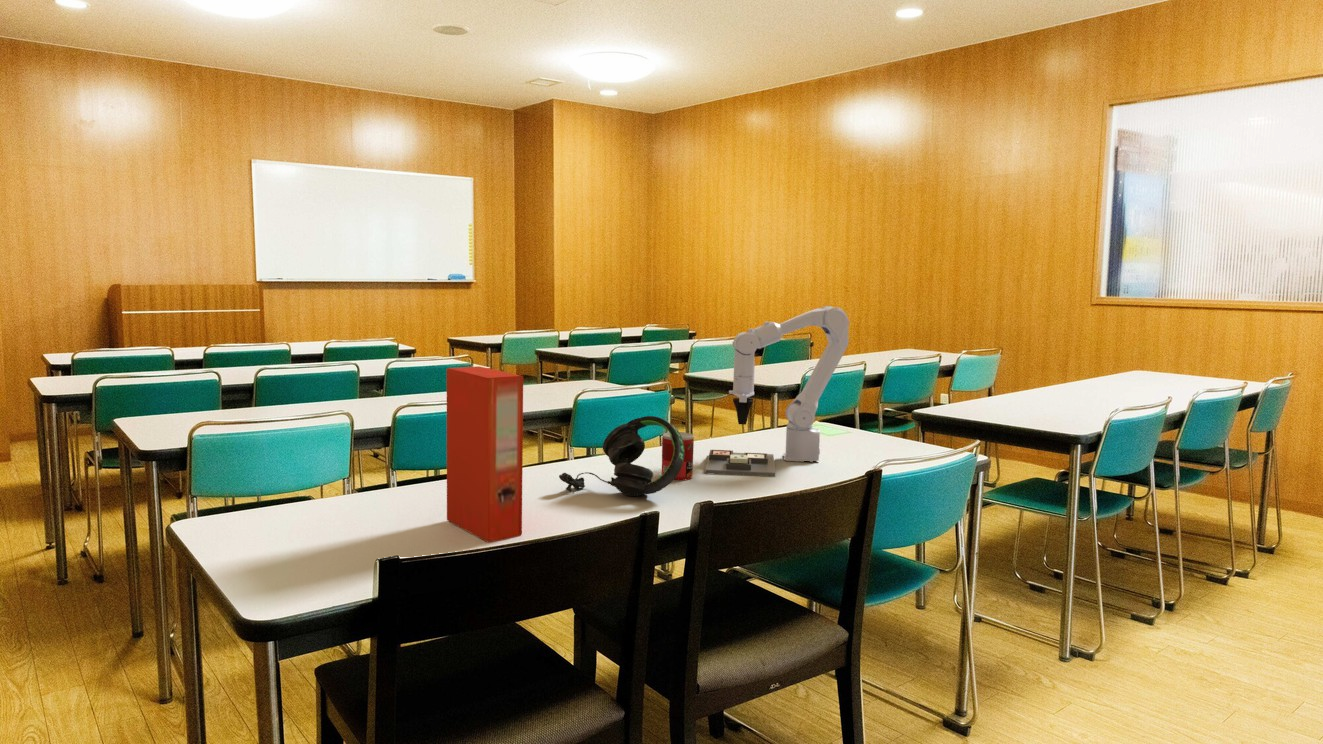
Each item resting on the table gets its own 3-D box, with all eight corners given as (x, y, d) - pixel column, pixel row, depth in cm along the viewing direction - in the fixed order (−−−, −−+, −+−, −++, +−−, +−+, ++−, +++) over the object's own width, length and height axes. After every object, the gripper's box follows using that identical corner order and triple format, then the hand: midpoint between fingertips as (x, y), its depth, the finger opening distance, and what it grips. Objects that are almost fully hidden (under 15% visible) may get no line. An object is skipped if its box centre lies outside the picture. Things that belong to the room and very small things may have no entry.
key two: (747, 459, 228) (747, 454, 228) (747, 463, 224) (747, 458, 223) (730, 458, 229) (730, 454, 228) (729, 462, 224) (730, 457, 224)
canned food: (692, 481, 214) (694, 438, 213) (661, 480, 214) (662, 437, 213) (692, 473, 222) (693, 432, 220) (661, 473, 222) (662, 431, 221)
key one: (764, 458, 236) (764, 454, 236) (764, 462, 231) (764, 457, 231) (747, 458, 236) (747, 453, 236) (747, 461, 232) (747, 457, 232)
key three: (729, 455, 239) (729, 451, 239) (729, 459, 234) (729, 454, 234) (713, 455, 239) (713, 450, 239) (712, 458, 235) (712, 454, 234)
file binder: (482, 514, 183) (481, 365, 178) (523, 535, 169) (523, 375, 165) (446, 521, 177) (445, 368, 173) (486, 543, 164) (485, 378, 160)
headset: (594, 524, 206) (699, 479, 196) (562, 513, 194) (671, 464, 185) (580, 457, 214) (680, 411, 205) (549, 443, 203) (652, 393, 194)
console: (773, 457, 242) (773, 449, 242) (775, 476, 221) (775, 467, 220) (709, 455, 244) (709, 446, 244) (705, 473, 222) (705, 464, 222)
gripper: (730, 372, 245) (728, 418, 247) (728, 378, 230) (727, 428, 232) (754, 373, 244) (753, 419, 246) (755, 379, 230) (753, 429, 231)
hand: (742, 424), depth 239 cm, fingers closed
